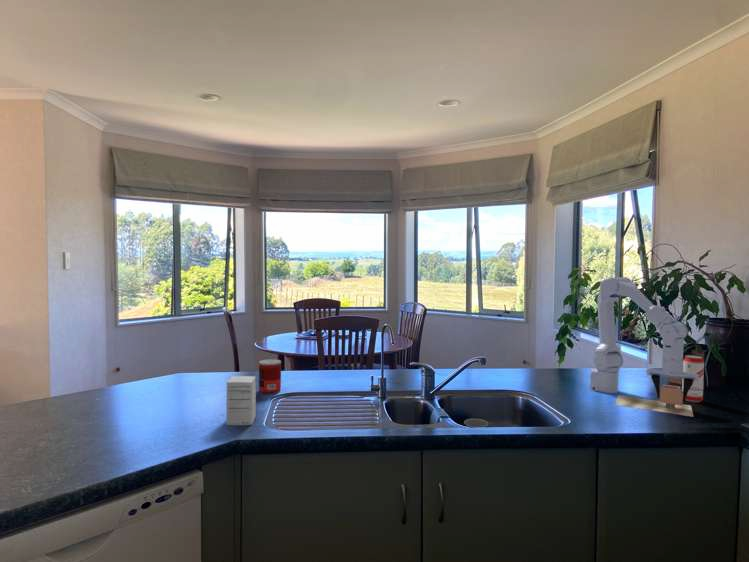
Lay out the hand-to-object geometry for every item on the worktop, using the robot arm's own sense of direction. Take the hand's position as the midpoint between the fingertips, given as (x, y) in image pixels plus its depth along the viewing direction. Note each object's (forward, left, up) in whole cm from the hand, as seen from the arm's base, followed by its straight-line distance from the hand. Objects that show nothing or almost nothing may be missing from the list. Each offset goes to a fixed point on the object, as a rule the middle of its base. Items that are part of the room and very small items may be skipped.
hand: (670, 399), depth 155 cm
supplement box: (-109, -86, -4) cm, 139 cm away
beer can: (+7, +20, -4) cm, 22 cm away
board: (-5, 0, -4) cm, 6 cm away
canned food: (-125, -58, -4) cm, 138 cm away
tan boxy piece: (0, 0, -1) cm, 1 cm away
